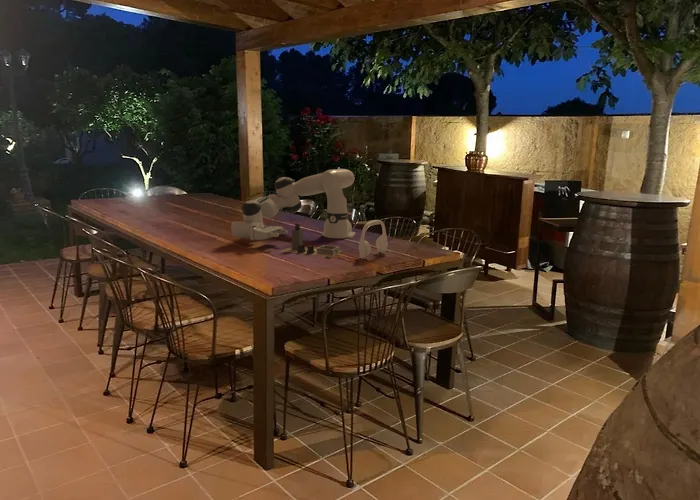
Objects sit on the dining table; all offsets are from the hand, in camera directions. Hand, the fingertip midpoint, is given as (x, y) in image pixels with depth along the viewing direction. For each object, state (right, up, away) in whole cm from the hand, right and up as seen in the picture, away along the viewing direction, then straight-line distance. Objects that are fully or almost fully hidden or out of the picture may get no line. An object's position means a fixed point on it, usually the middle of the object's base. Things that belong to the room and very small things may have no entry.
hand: (282, 233), depth 283 cm
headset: (+45, -12, -8) cm, 47 cm away
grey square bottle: (+7, -8, -1) cm, 11 cm away
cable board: (+15, -10, -4) cm, 18 cm away
